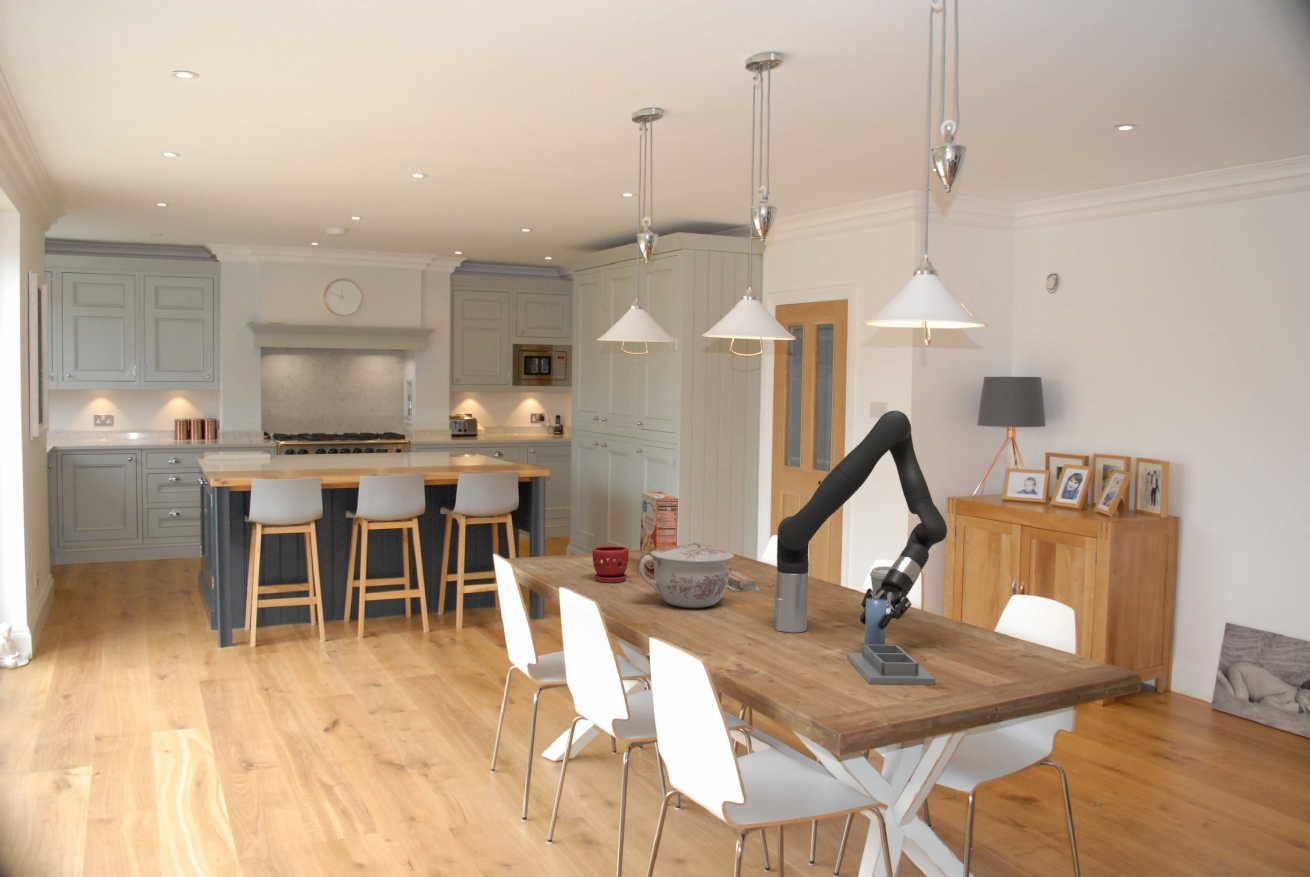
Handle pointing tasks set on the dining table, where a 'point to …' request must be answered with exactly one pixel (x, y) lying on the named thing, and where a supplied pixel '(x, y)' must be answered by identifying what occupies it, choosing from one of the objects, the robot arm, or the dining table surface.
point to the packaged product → (741, 582)
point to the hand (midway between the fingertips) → (871, 624)
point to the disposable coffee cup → (878, 576)
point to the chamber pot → (689, 574)
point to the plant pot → (610, 563)
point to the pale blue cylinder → (874, 621)
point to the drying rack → (889, 666)
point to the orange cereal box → (657, 525)
